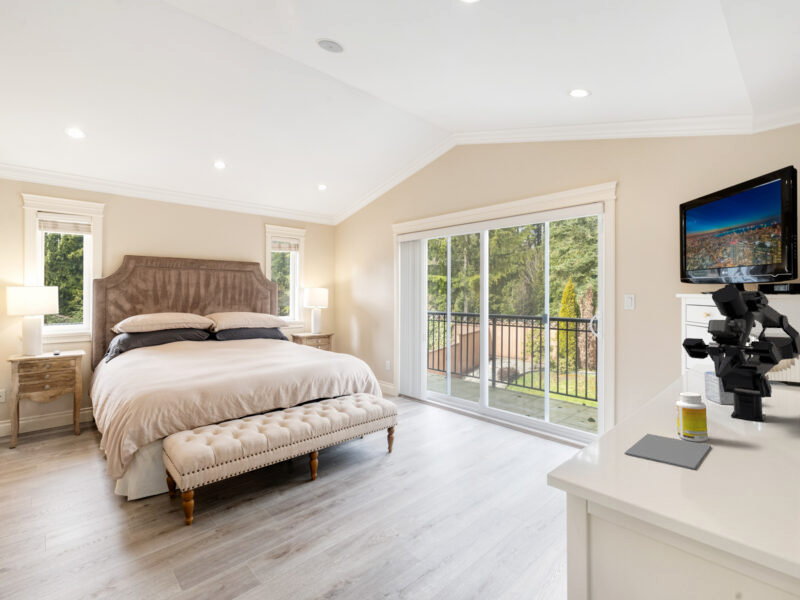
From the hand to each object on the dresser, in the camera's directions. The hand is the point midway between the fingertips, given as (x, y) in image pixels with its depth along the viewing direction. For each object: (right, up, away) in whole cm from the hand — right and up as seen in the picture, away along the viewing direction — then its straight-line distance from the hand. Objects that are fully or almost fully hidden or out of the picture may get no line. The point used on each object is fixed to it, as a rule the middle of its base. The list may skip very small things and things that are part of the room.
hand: (718, 376), depth 98 cm
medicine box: (+20, -13, +24) cm, 34 cm away
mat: (-21, -13, -14) cm, 29 cm away
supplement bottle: (-11, -13, -7) cm, 19 cm away
